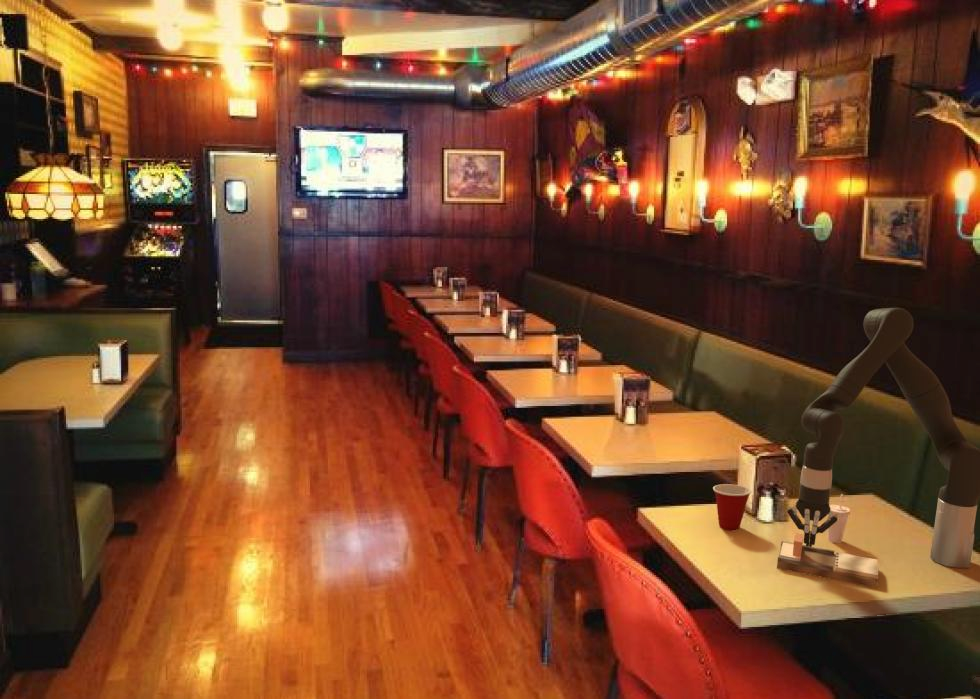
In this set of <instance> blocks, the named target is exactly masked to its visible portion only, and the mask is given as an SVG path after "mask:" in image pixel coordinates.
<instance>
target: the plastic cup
mask: <svg viewBox="0 0 980 699" xmlns="http://www.w3.org/2000/svg"><path fill="white" fill-rule="evenodd" d="M712 489H713V491H714V495H715V499H716V509H717V516H718V526H719V527H720V528H721V529H723V530H727V531H738V530H739V529H740V526H741V524H742V520H743V518H744V514H745V509H746V506H747V503H748V501H749V500H748V499H749V497H750V494H751V493H752V489H751V488H749V487H746V486H744V485H739V484H730V483H729V484H728V483H723V484H717V485H714V486H713V487H712Z"/></svg>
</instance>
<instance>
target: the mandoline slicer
mask: <svg viewBox="0 0 980 699" xmlns="http://www.w3.org/2000/svg"><path fill="white" fill-rule="evenodd" d="M780 543H781V544H780V548H779V553H778V556H777V563H776V569H777V570H778V569H779V570H784V571H788V572H794V573H798V572H799V574H803V573H805V575H809V574H811V575H810V576H814V575H815V577H819V576H821V577H820V578H824V577H825V578H826V579H829V578H830V580H835V581H839V582H844V581H845V582H844V583H850V584H854V585H861V586H864V587H865V586H866V587H871V588H874V589H875V588H876V589H877V587H878V582H879V567H878V559H875V558H869V557H865V556H860V555H859V556H858V555H853V554H848V553H843V552H836V553H835V550H832V549H828V548H827V549H826V548H822V547H821V548H820V547H816V546H812V547H809V546H806V544H805V545H804V544H802V552H801V558H800V560H796V559H790V558H785V557H780V553H781V549H782V544H783V543H789V544H794V542H788V541H784V540H782V541H781V542H780ZM825 578H824V579H825Z"/></svg>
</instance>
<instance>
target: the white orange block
mask: <svg viewBox="0 0 980 699" xmlns="http://www.w3.org/2000/svg"><path fill="white" fill-rule="evenodd" d="M793 543H794V544H789V543H783V544H782V549H781V553H780V552H779V553H780V557H785V558H790V559H796V560H800V558H801V552H802V545H803V544H804V533H800V532H795V534H794V541H793Z"/></svg>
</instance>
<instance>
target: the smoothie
mask: <svg viewBox="0 0 980 699" xmlns="http://www.w3.org/2000/svg"><path fill="white" fill-rule="evenodd" d="M843 497H844V494H842V493H841V494H840V499H839V504H829V506H830V511H831V512H832V513H833V514H836V515H837V516H838V518H837V521H836V522H835V523H834V524H833V525H832V526H830V527H829V528H828V529H827V530H826V531H827V541H828V542H831V543H834V544H840V543H842V541H843V539H844V538H843V537H844V534H845V531H846V530H845V529H846V525H847V523H848V519H849V515H850V514H851V509H850V508H849V507H847V506H844V505H843ZM827 517H828V515H827V516H826V518H827Z"/></svg>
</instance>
